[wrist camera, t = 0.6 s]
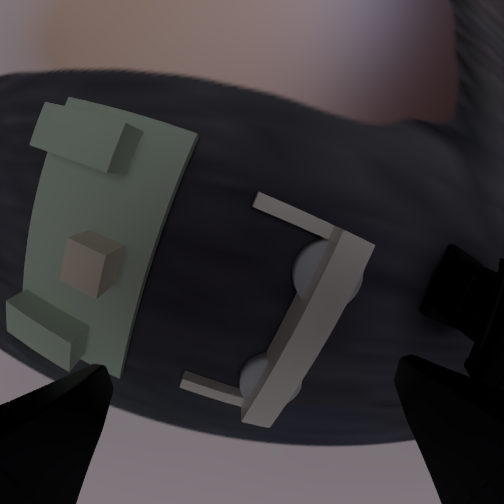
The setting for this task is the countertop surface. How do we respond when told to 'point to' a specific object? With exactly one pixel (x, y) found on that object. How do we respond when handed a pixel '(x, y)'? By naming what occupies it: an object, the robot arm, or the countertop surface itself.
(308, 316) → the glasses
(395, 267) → the countertop surface
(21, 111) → the countertop surface
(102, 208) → the stand
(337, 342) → the countertop surface
